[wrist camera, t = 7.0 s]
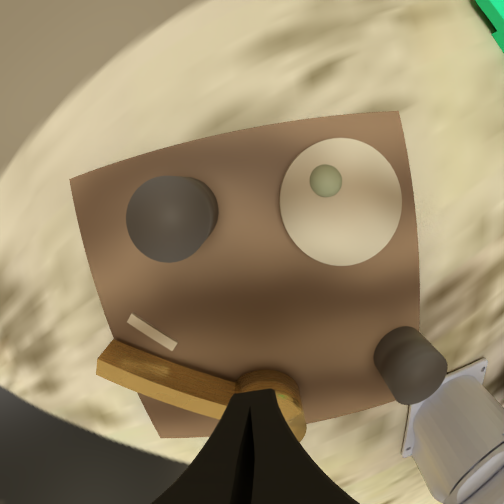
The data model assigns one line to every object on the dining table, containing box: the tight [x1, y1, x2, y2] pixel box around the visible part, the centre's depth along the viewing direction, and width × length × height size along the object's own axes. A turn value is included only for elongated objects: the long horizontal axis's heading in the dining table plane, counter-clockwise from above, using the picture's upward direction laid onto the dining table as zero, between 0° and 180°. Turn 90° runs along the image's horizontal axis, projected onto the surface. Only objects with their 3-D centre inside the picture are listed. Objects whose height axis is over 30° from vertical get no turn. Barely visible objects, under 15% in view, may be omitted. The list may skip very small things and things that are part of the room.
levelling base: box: [69, 111, 447, 438], centre depth 16 cm, size 19×19×5 cm
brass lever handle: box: [96, 339, 307, 442], centre depth 16 cm, size 12×4×3 cm, turn 71°
